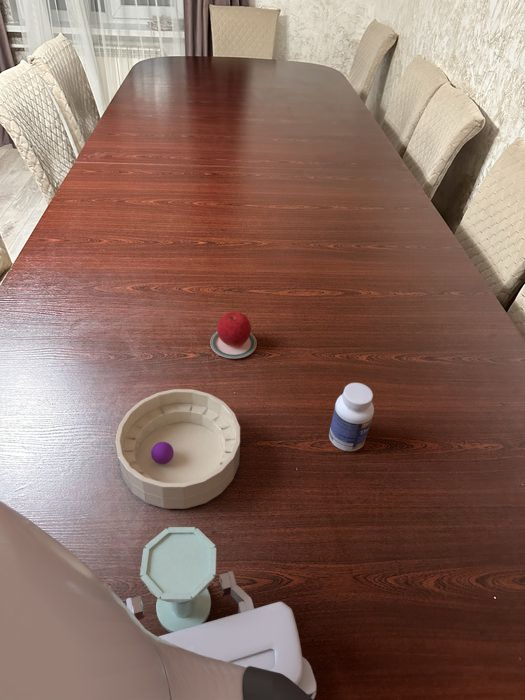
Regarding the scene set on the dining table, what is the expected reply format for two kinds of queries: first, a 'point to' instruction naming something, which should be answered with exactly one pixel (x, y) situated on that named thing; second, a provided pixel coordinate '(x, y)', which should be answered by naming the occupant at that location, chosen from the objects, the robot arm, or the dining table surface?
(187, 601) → the pedestal stand
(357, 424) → the pill bottle
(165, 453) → the ball
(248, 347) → the apple
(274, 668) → the robot arm
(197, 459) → the bowl
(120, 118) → the dining table surface
